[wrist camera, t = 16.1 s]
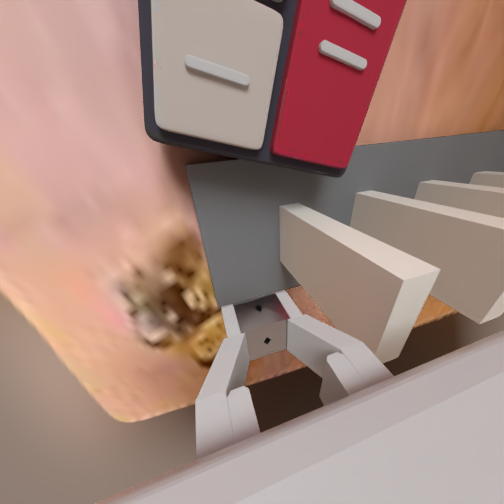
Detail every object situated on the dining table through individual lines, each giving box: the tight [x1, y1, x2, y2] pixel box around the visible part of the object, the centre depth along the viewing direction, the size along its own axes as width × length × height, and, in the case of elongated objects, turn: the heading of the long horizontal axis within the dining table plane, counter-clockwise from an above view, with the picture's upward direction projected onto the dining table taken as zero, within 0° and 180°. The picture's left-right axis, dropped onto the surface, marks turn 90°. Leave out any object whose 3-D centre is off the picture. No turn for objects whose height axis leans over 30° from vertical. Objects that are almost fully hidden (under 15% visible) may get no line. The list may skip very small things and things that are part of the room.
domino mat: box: [185, 130, 504, 308], centre depth 19 cm, size 12×42×1 cm, turn 95°
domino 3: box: [350, 190, 504, 324], centre depth 13 cm, size 2×5×10 cm, turn 5°
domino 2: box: [414, 180, 504, 218], centre depth 15 cm, size 2×5×10 cm, turn 5°
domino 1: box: [279, 203, 441, 363], centre depth 12 cm, size 2×5×10 cm, turn 5°
